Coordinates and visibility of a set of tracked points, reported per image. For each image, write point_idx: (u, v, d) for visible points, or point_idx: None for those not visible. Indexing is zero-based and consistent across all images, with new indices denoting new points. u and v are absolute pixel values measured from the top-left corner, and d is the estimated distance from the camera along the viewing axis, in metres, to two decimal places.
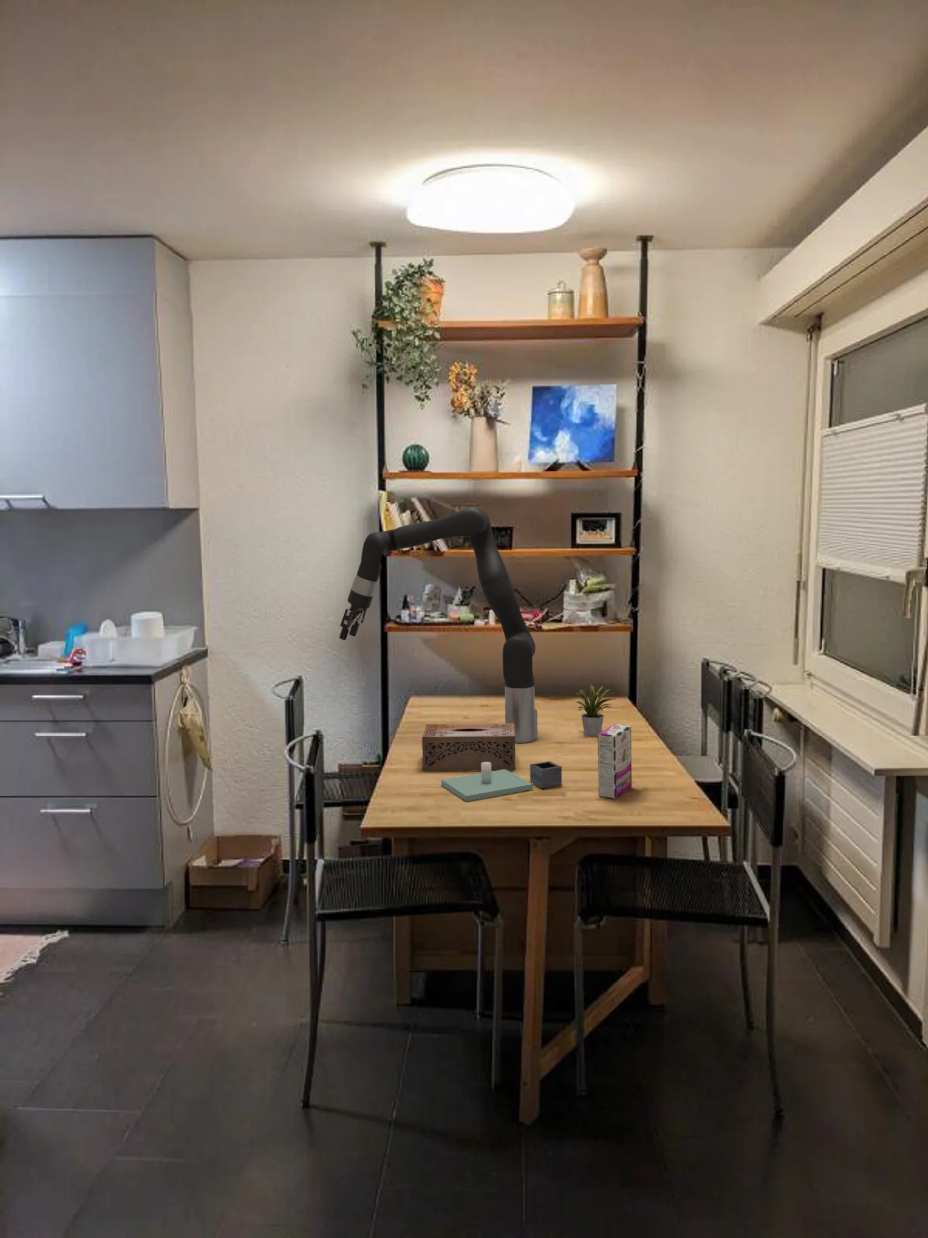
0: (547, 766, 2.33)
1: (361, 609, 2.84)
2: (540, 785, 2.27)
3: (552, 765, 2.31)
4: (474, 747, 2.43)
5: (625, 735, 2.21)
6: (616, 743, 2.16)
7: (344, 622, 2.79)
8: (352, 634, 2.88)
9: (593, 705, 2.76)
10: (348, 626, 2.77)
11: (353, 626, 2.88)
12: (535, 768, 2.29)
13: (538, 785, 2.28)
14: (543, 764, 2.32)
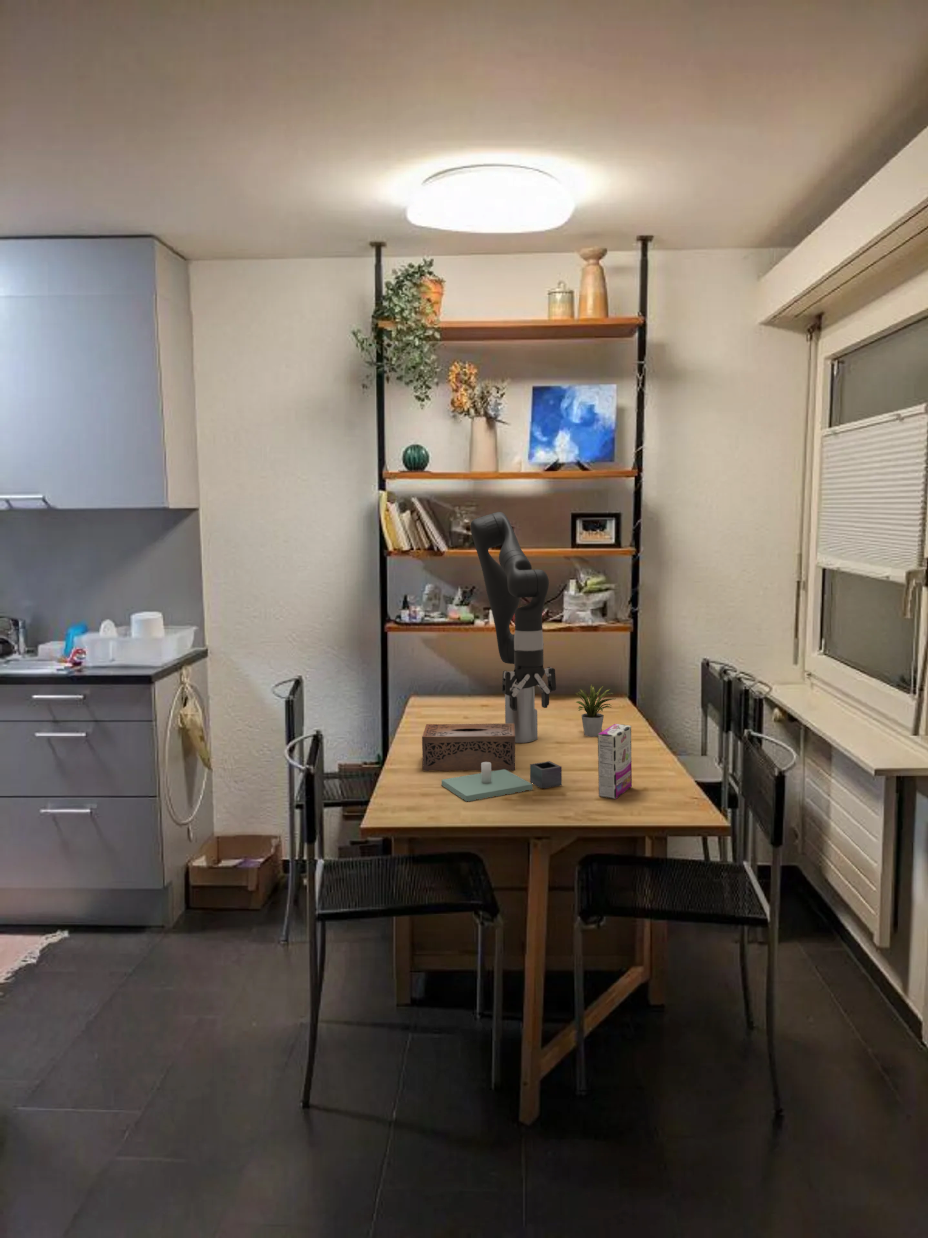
0: (547, 766, 2.33)
1: None
2: (540, 785, 2.27)
3: (552, 765, 2.31)
4: (474, 747, 2.43)
5: (625, 735, 2.21)
6: (616, 743, 2.16)
7: (547, 687, 2.27)
8: None
9: (593, 705, 2.76)
10: None
11: None
12: (535, 768, 2.29)
13: (538, 785, 2.28)
14: (543, 764, 2.32)
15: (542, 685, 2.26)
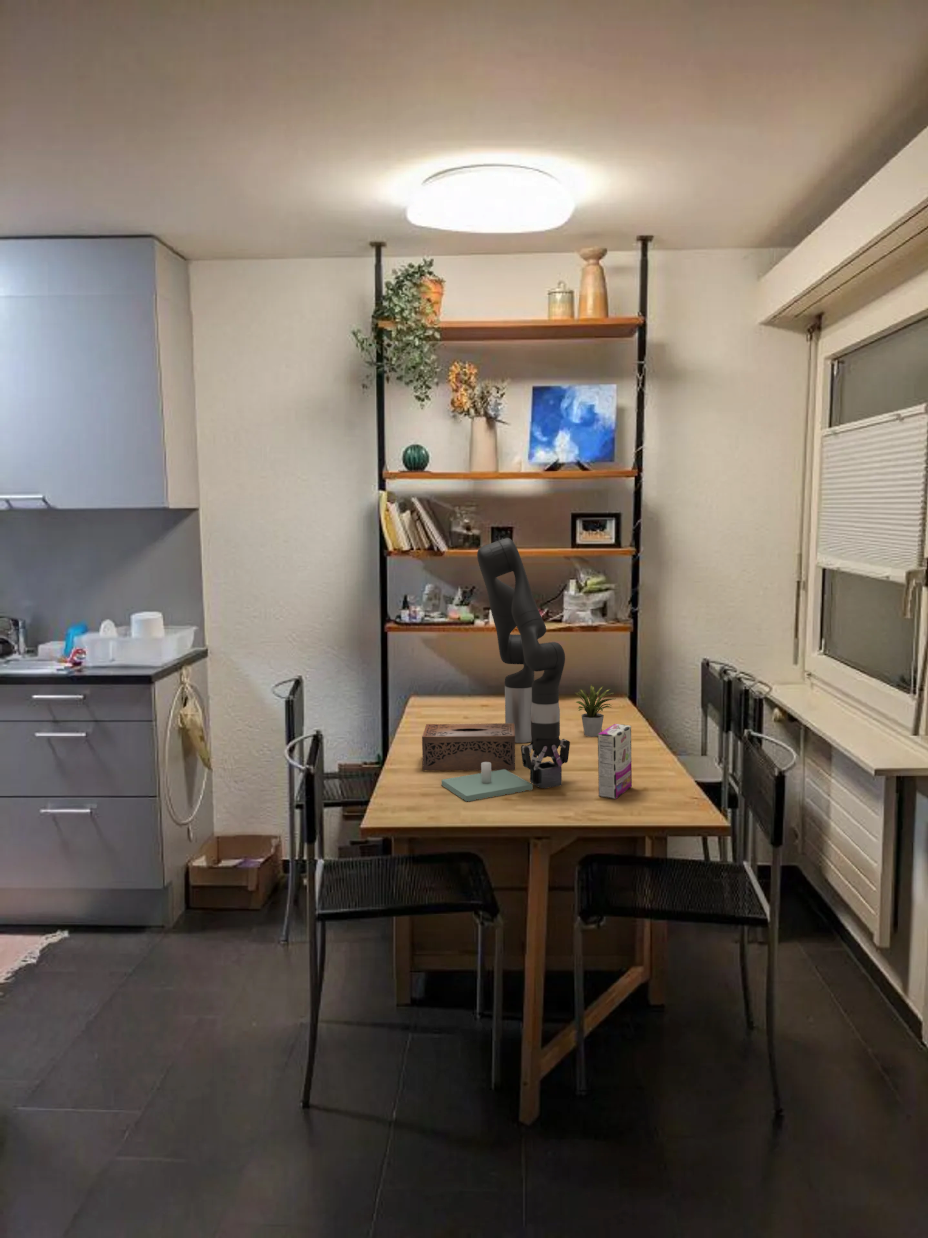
0: (547, 766, 2.33)
1: None
2: (540, 785, 2.27)
3: (552, 765, 2.31)
4: (474, 747, 2.43)
5: (625, 735, 2.21)
6: (616, 743, 2.16)
7: (560, 759, 2.30)
8: None
9: (593, 705, 2.76)
10: (559, 758, 2.33)
11: None
12: None
13: (538, 785, 2.28)
14: (543, 764, 2.32)
15: (556, 757, 2.29)
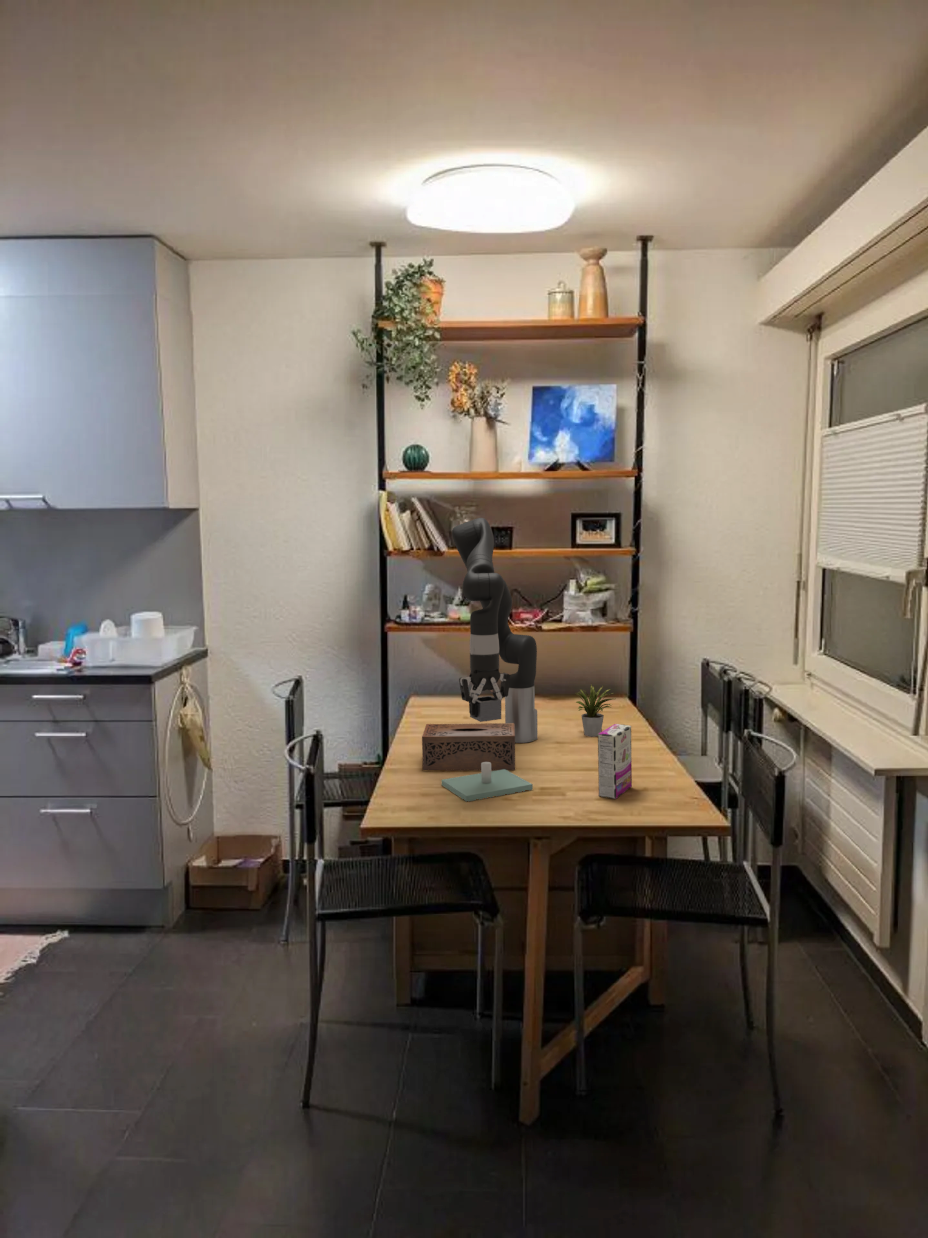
0: (487, 700, 2.28)
1: None
2: (479, 718, 2.23)
3: (492, 699, 2.27)
4: (474, 747, 2.43)
5: (625, 735, 2.21)
6: (616, 743, 2.16)
7: (500, 693, 2.26)
8: None
9: (593, 705, 2.76)
10: (500, 692, 2.29)
11: None
12: None
13: (477, 719, 2.24)
14: (483, 698, 2.28)
15: (496, 690, 2.25)
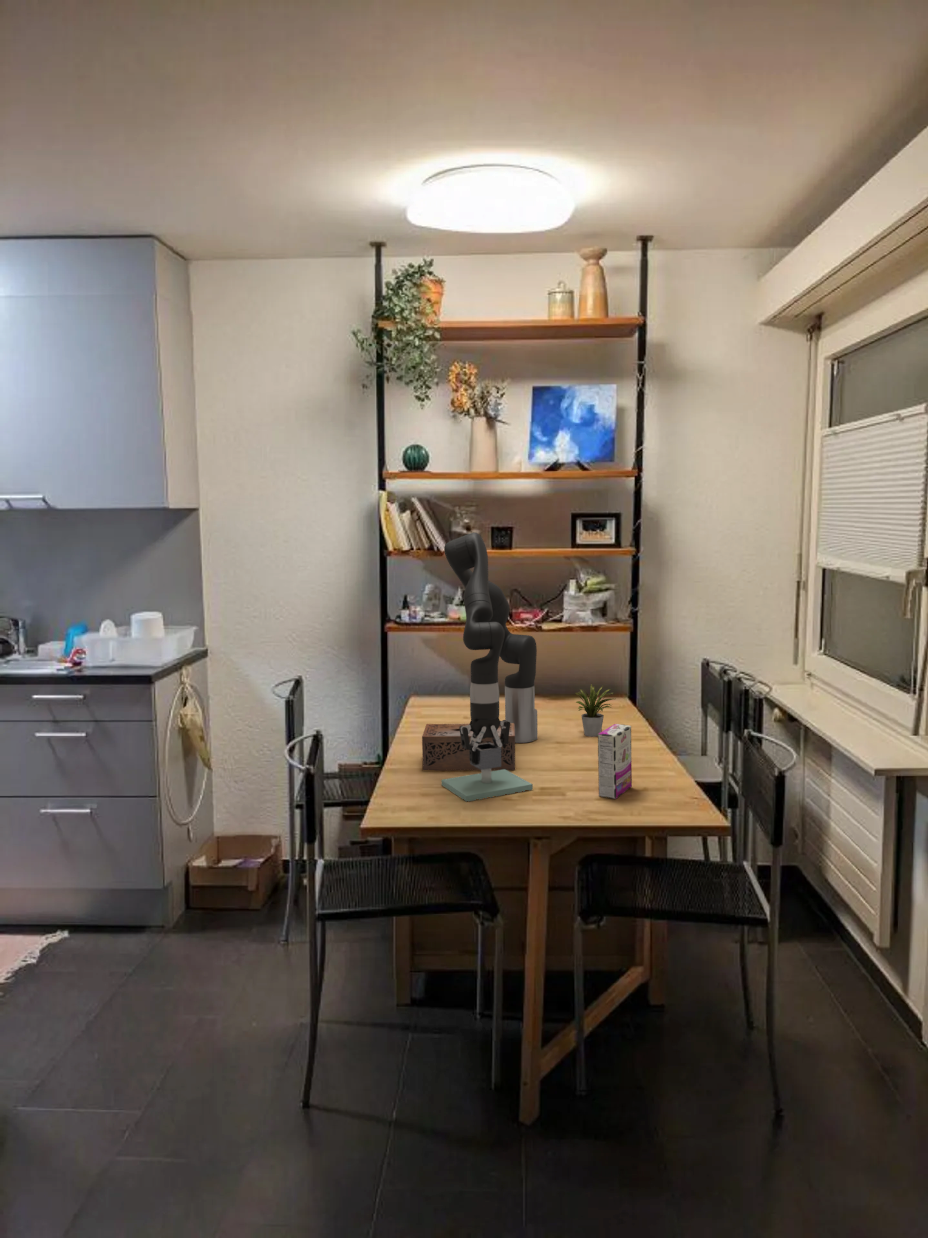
0: (488, 747, 2.30)
1: None
2: (479, 766, 2.24)
3: (492, 746, 2.28)
4: None
5: (625, 735, 2.21)
6: (616, 743, 2.16)
7: (500, 740, 2.28)
8: None
9: (593, 705, 2.76)
10: (500, 739, 2.30)
11: None
12: None
13: (477, 766, 2.25)
14: (483, 745, 2.29)
15: (496, 738, 2.26)
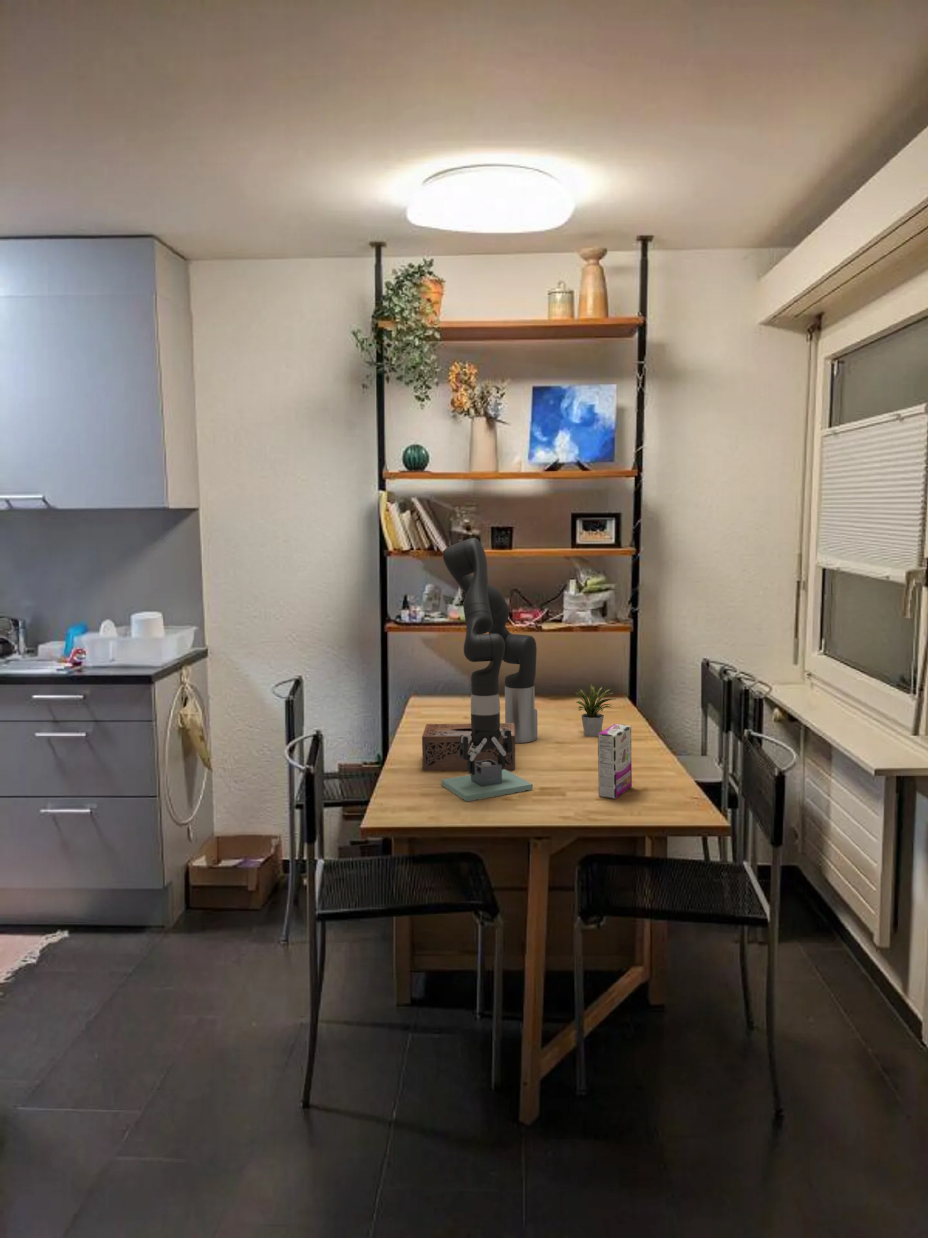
0: None
1: None
2: (480, 783, 2.25)
3: (493, 763, 2.29)
4: None
5: (625, 735, 2.21)
6: (616, 743, 2.16)
7: (503, 749, 2.28)
8: None
9: (593, 705, 2.76)
10: (504, 747, 2.31)
11: None
12: (475, 766, 2.26)
13: (478, 783, 2.26)
14: None
15: (499, 748, 2.27)
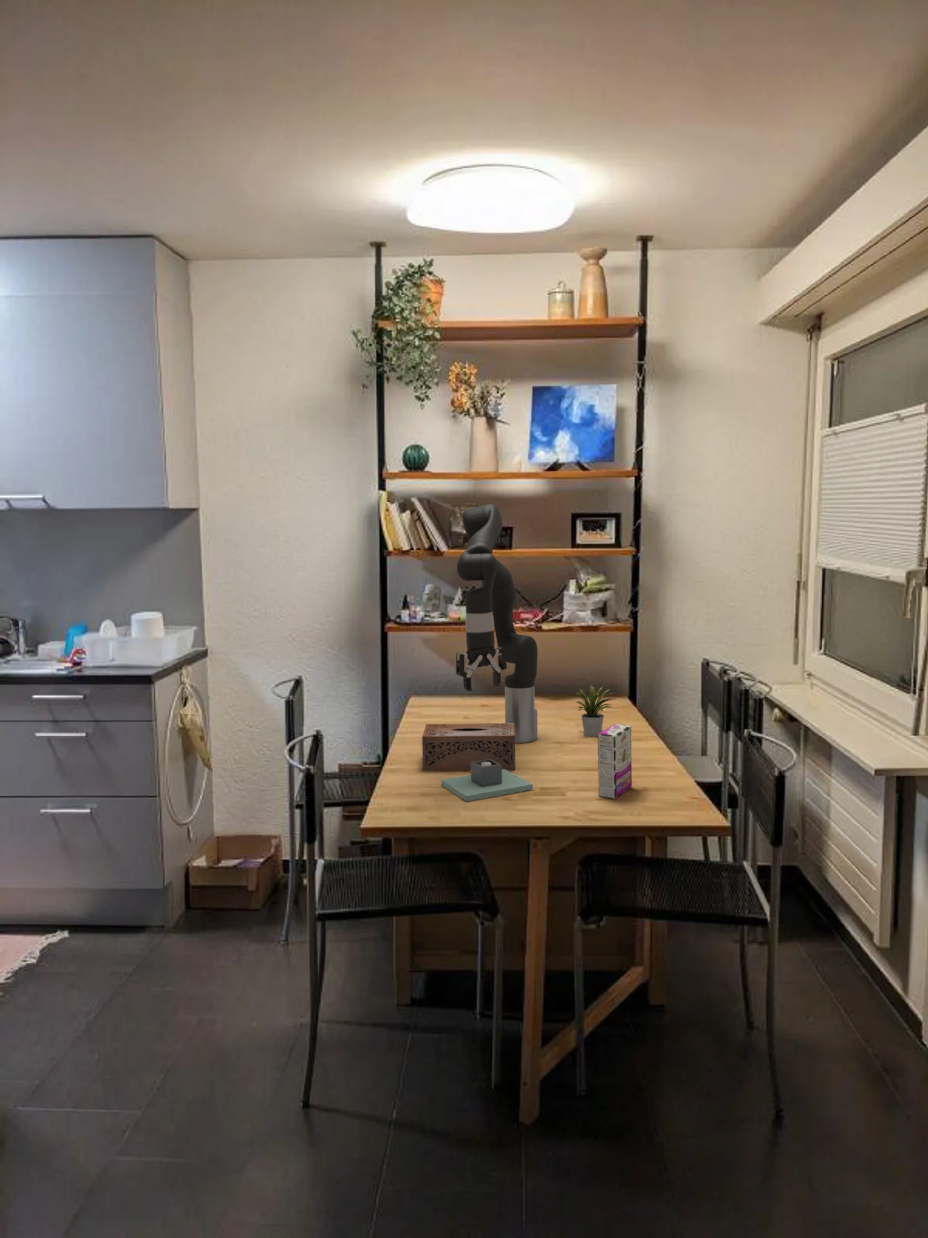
0: None
1: None
2: (480, 783, 2.25)
3: (493, 763, 2.29)
4: (474, 747, 2.43)
5: (625, 735, 2.21)
6: (616, 743, 2.16)
7: (498, 666, 2.35)
8: None
9: (593, 705, 2.76)
10: (499, 665, 2.38)
11: None
12: (475, 766, 2.26)
13: (478, 783, 2.26)
14: None
15: (494, 665, 2.34)
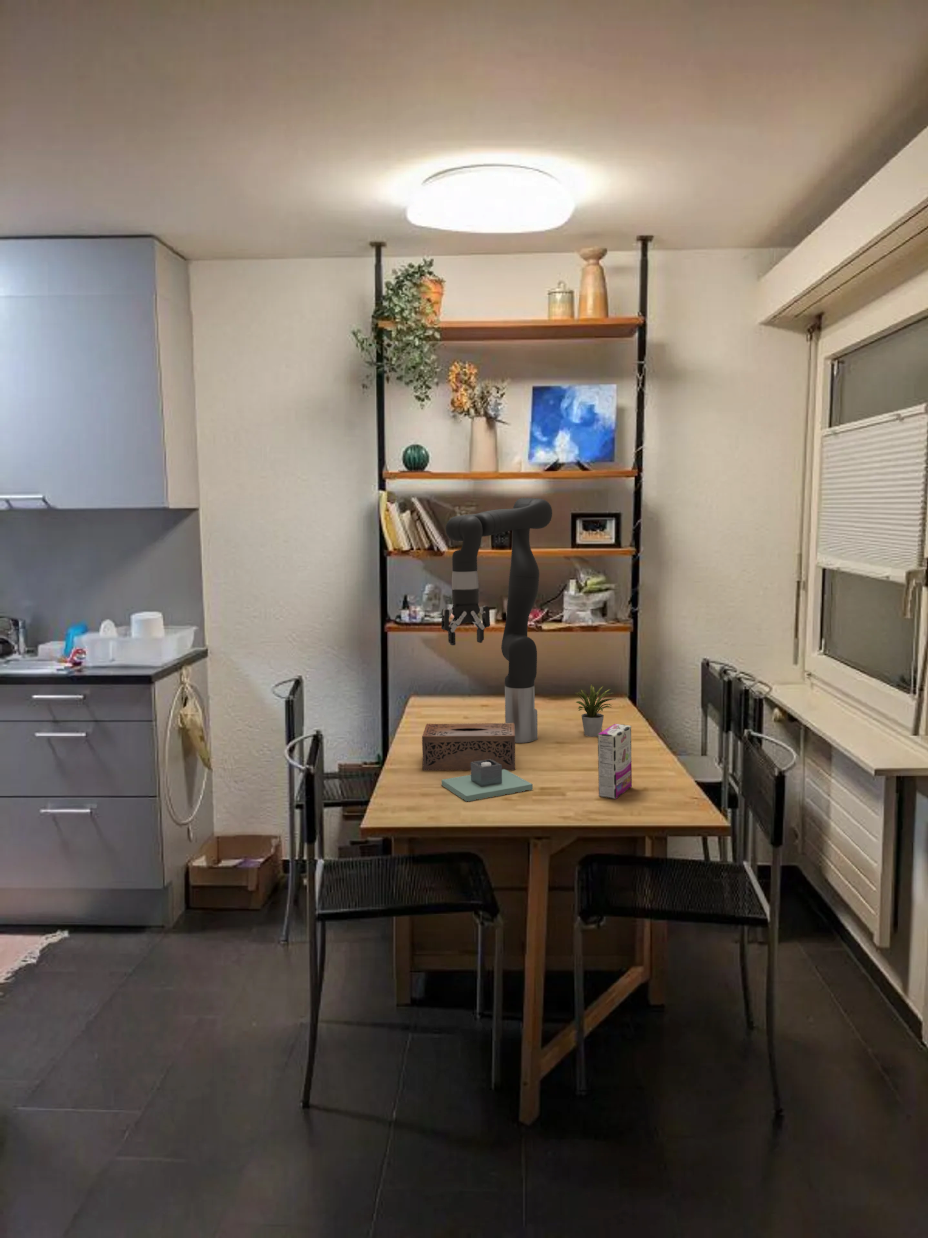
0: None
1: None
2: (480, 783, 2.25)
3: (493, 763, 2.29)
4: (474, 747, 2.43)
5: (625, 735, 2.21)
6: (616, 743, 2.16)
7: (482, 623, 2.50)
8: None
9: (593, 705, 2.76)
10: (483, 623, 2.52)
11: None
12: (475, 766, 2.26)
13: (478, 783, 2.26)
14: None
15: (477, 621, 2.48)
